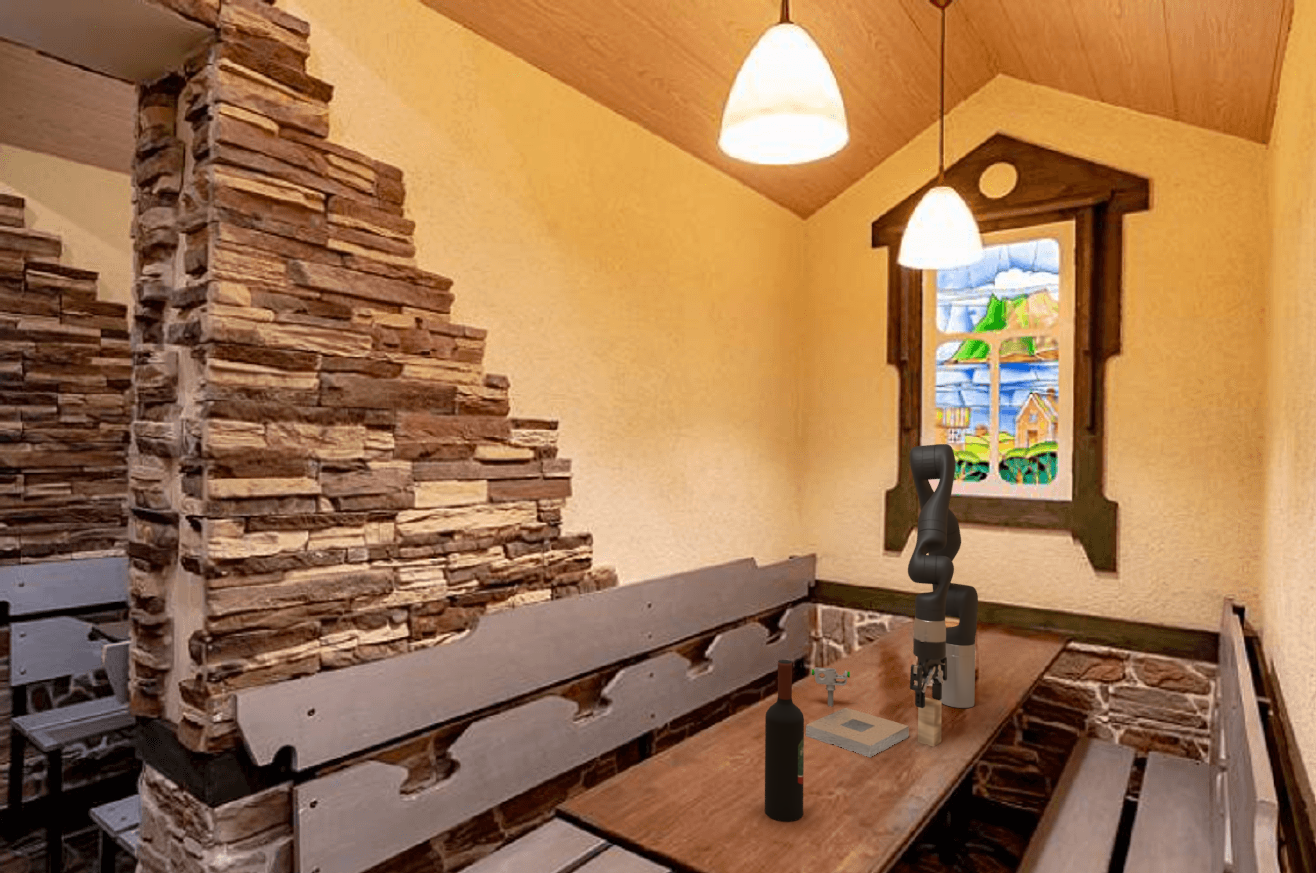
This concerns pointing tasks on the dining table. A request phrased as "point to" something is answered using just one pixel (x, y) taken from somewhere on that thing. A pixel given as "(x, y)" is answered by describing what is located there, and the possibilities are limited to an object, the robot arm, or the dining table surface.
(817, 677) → the mechanical component
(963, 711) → the dining table surface
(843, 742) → the square slotted board
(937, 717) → the wooden block
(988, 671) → the dining table surface
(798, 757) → the wine bottle
